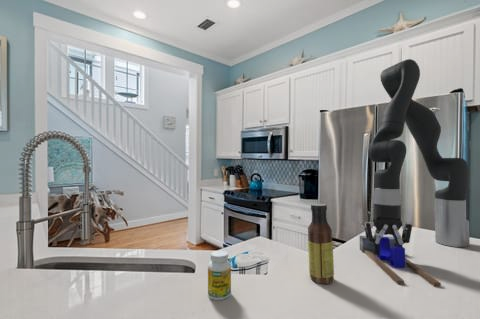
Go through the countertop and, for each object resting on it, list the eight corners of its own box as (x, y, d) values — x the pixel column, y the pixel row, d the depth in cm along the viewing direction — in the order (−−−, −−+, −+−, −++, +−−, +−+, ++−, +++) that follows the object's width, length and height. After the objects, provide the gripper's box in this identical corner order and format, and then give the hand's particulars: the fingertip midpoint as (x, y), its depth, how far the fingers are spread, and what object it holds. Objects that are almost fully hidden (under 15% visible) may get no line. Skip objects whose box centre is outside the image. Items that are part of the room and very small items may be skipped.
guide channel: (392, 251, 88) (392, 236, 88) (442, 287, 62) (442, 266, 62) (359, 249, 89) (359, 235, 89) (395, 284, 63) (395, 264, 63)
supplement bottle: (228, 287, 61) (228, 248, 61) (232, 299, 56) (233, 256, 56) (206, 290, 60) (206, 250, 60) (208, 302, 55) (209, 258, 55)
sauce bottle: (333, 276, 67) (333, 203, 68) (334, 287, 62) (334, 206, 62) (308, 272, 70) (308, 201, 70) (307, 283, 64) (307, 205, 64)
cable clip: (373, 253, 86) (373, 236, 86) (387, 254, 85) (387, 236, 85) (388, 268, 74) (388, 247, 74) (405, 269, 73) (405, 248, 73)
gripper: (404, 201, 83) (405, 252, 82) (359, 200, 85) (359, 250, 84) (418, 204, 75) (418, 260, 75) (368, 203, 77) (368, 258, 77)
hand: (387, 255), depth 80 cm, fingers open, 5 cm apart
